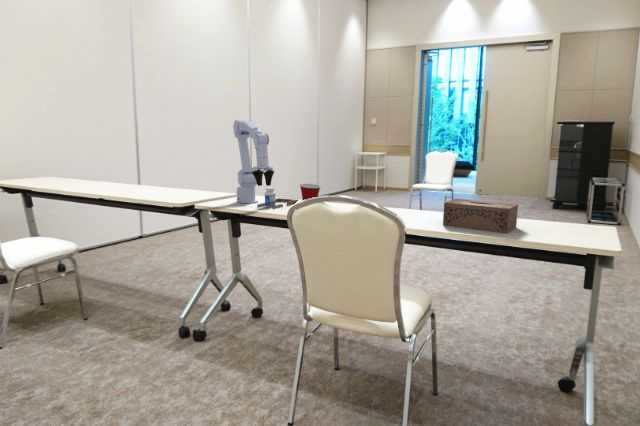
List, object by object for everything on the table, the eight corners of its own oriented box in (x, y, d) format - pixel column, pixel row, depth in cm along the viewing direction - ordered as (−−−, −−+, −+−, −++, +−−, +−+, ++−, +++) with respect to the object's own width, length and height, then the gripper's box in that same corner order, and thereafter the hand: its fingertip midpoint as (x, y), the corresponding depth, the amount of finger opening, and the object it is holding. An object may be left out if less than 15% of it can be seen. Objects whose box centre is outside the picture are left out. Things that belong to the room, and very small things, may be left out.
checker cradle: (257, 206, 234) (257, 204, 234) (266, 204, 241) (266, 202, 241) (274, 208, 229) (274, 205, 229) (283, 206, 236) (283, 203, 236)
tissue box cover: (442, 226, 192) (444, 202, 191) (454, 220, 204) (455, 198, 202) (507, 234, 178) (509, 208, 176) (516, 228, 189) (518, 204, 188)
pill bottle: (263, 206, 236) (263, 187, 235) (272, 205, 239) (272, 186, 237) (267, 207, 232) (267, 188, 230) (277, 207, 234) (277, 188, 233)
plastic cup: (315, 210, 224) (316, 186, 222) (295, 209, 229) (295, 185, 226) (324, 207, 234) (324, 184, 232) (304, 206, 238) (305, 183, 236)
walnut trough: (268, 203, 245) (268, 200, 245) (279, 201, 254) (279, 198, 254) (288, 205, 239) (288, 202, 239) (298, 203, 248) (298, 199, 248)
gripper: (260, 156, 219) (262, 185, 219) (277, 157, 231) (279, 184, 232) (248, 158, 222) (250, 186, 222) (265, 159, 235) (267, 185, 235)
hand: (264, 185), depth 227 cm, fingers open, 7 cm apart
